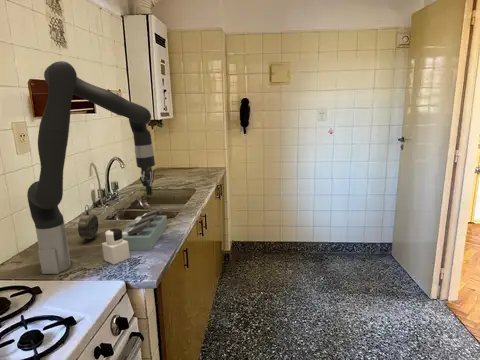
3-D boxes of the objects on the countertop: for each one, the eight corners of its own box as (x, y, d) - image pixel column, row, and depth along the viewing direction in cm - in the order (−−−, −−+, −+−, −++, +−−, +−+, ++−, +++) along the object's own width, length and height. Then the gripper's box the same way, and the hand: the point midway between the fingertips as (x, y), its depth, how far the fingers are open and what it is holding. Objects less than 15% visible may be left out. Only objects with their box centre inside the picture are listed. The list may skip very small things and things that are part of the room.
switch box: (150, 249, 141) (149, 234, 140) (117, 250, 142) (115, 235, 141) (167, 226, 168) (166, 213, 166) (139, 226, 168) (137, 213, 167)
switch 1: (160, 214, 159) (158, 210, 159) (142, 220, 160) (140, 216, 160) (162, 210, 164) (161, 207, 163) (145, 216, 165) (144, 213, 165)
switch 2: (154, 220, 150) (152, 217, 150) (135, 227, 151) (134, 223, 151) (157, 217, 155) (156, 213, 155) (139, 223, 156) (138, 219, 156)
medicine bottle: (120, 253, 139) (116, 225, 136) (130, 258, 135) (126, 229, 132) (103, 260, 134) (99, 231, 131) (113, 265, 129) (109, 235, 127)
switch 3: (147, 227, 141) (145, 223, 141) (128, 235, 143) (126, 232, 142) (151, 223, 146) (149, 219, 146) (133, 231, 148) (131, 227, 147)
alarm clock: (91, 234, 160) (86, 201, 157) (102, 234, 160) (97, 201, 156) (79, 244, 150) (73, 209, 146) (91, 244, 149) (86, 208, 146)
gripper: (148, 157, 138) (153, 198, 143) (157, 152, 151) (162, 189, 156) (130, 158, 139) (136, 199, 143) (141, 152, 152) (146, 190, 156)
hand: (149, 194), depth 149 cm, fingers closed
